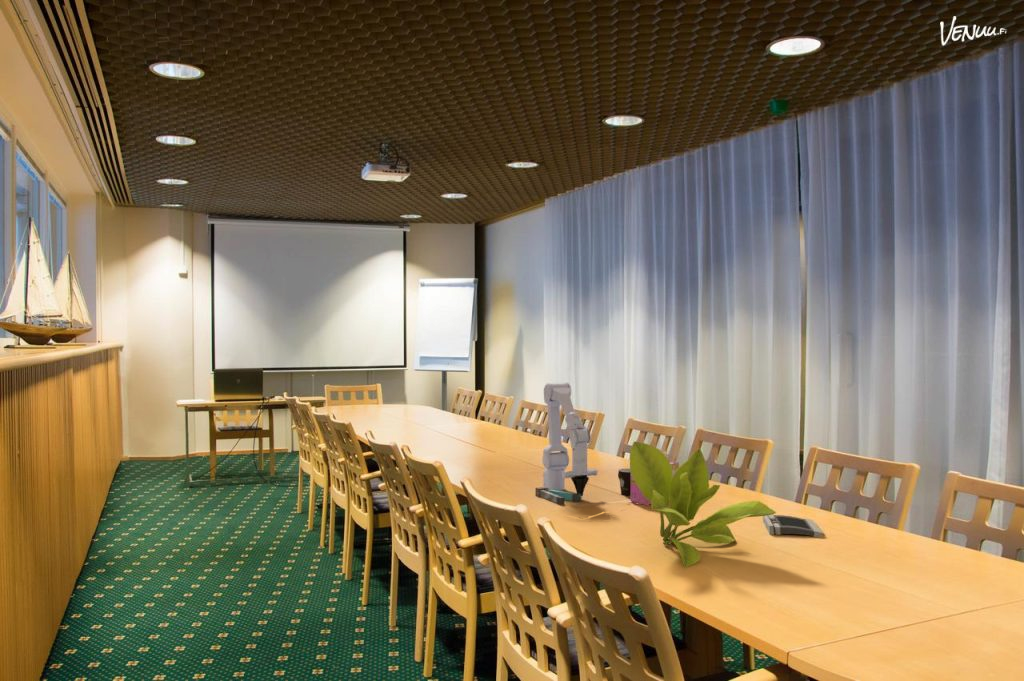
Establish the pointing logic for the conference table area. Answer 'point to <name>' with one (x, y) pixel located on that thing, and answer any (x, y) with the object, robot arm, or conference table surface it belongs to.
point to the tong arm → (567, 495)
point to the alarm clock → (791, 525)
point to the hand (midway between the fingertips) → (579, 495)
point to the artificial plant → (686, 499)
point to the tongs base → (548, 495)
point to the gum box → (636, 493)
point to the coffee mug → (625, 481)
